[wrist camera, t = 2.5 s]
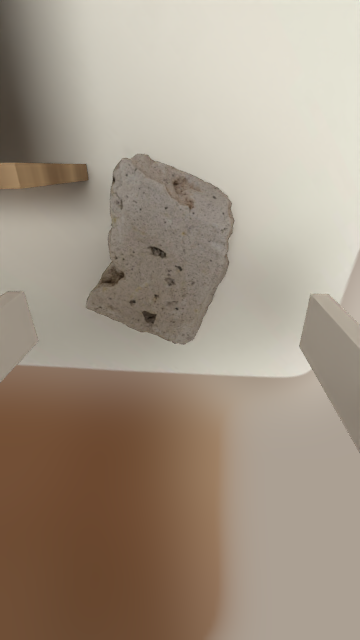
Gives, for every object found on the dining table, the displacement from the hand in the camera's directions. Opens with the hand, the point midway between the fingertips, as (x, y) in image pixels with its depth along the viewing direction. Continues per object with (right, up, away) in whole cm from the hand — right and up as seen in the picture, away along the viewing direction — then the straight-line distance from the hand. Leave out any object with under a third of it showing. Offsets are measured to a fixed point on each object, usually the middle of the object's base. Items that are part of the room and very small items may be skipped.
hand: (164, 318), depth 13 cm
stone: (-1, +5, +10) cm, 11 cm away
